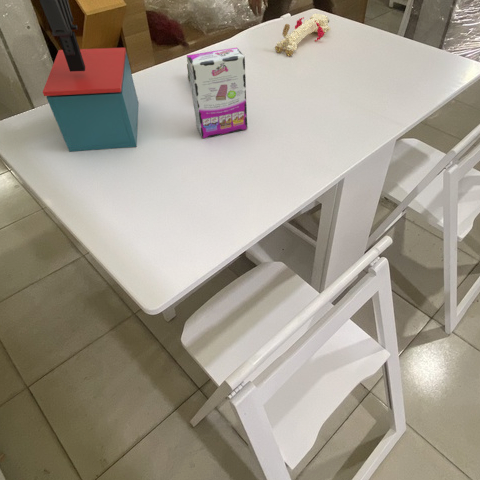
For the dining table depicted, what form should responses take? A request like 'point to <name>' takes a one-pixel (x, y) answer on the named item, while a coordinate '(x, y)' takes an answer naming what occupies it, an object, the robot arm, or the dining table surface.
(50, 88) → the lid
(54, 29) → the robot arm
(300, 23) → the fuzzy plush toy
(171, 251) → the dining table surface
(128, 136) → the teal open box
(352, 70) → the dining table surface
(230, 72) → the candy bar box
